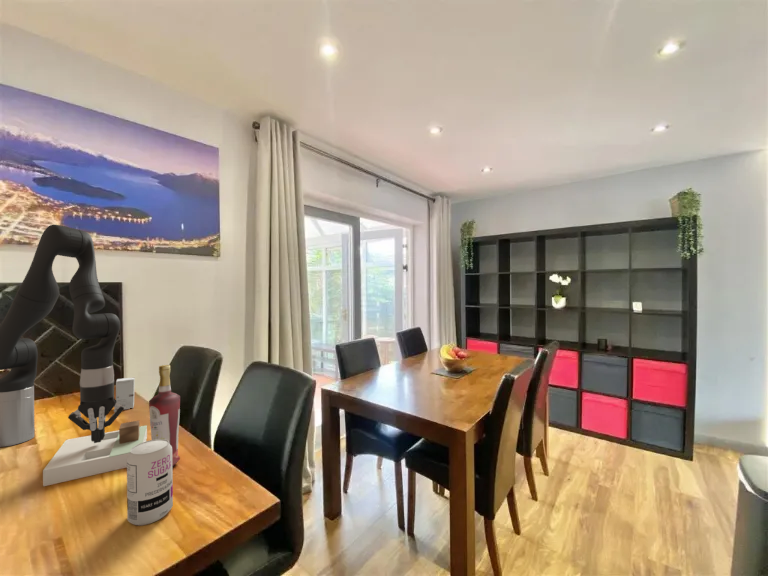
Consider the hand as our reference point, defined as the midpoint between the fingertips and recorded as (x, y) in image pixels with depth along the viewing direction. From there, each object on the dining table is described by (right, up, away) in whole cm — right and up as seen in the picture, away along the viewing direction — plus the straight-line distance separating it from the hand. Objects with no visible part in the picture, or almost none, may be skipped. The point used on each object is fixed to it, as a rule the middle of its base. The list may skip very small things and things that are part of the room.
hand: (97, 441), depth 98 cm
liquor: (+22, -5, -4) cm, 23 cm away
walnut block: (+6, -1, +4) cm, 7 cm away
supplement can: (+32, -5, -24) cm, 40 cm away
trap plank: (+1, -5, 0) cm, 5 cm away
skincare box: (-24, -5, +41) cm, 48 cm away
